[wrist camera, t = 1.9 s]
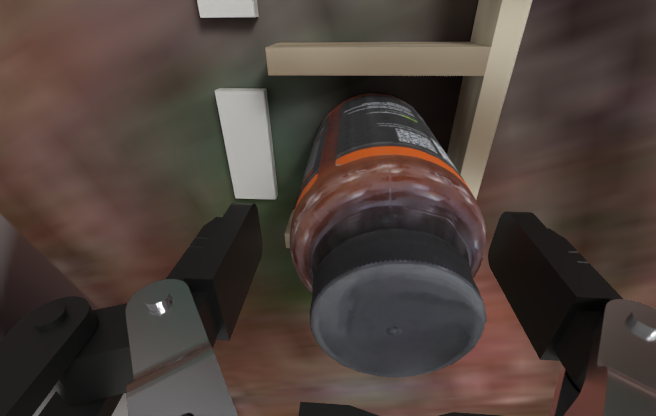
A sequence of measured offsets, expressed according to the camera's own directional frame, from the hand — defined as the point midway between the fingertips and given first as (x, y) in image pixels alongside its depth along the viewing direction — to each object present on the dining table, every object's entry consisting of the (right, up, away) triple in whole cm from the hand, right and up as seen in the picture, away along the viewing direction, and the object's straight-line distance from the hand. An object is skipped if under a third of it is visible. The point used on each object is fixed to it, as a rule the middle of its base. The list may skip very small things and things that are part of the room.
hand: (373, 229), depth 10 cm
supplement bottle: (+1, +4, +6) cm, 8 cm away
